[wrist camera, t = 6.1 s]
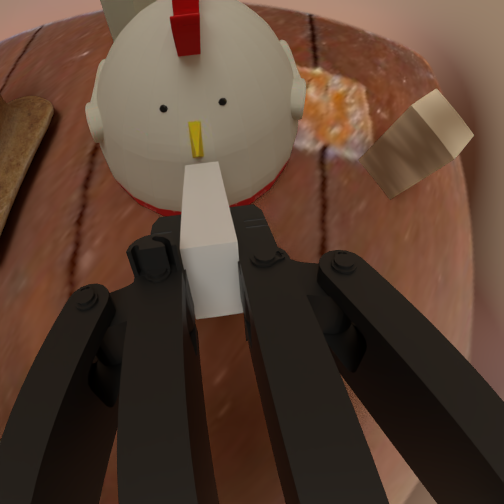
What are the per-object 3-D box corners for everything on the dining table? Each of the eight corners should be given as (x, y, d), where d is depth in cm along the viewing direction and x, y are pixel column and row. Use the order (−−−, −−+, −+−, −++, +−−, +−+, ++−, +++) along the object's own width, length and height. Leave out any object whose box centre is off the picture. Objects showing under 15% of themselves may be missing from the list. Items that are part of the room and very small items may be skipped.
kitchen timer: (108, 231, 18) (-51, 117, 4) (117, 82, 20) (69, -55, 6) (307, 207, 20) (444, 59, 5) (273, 65, 22) (312, -78, 7)
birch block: (358, 160, 21) (411, 105, 13) (385, 139, 22) (436, 88, 14) (390, 199, 21) (454, 159, 13) (414, 175, 22) (474, 135, 14)
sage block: (115, 47, 21) (96, -11, 13) (140, 25, 22) (128, -31, 14) (145, 53, 21) (130, -11, 13) (169, 30, 22) (162, -31, 14)
